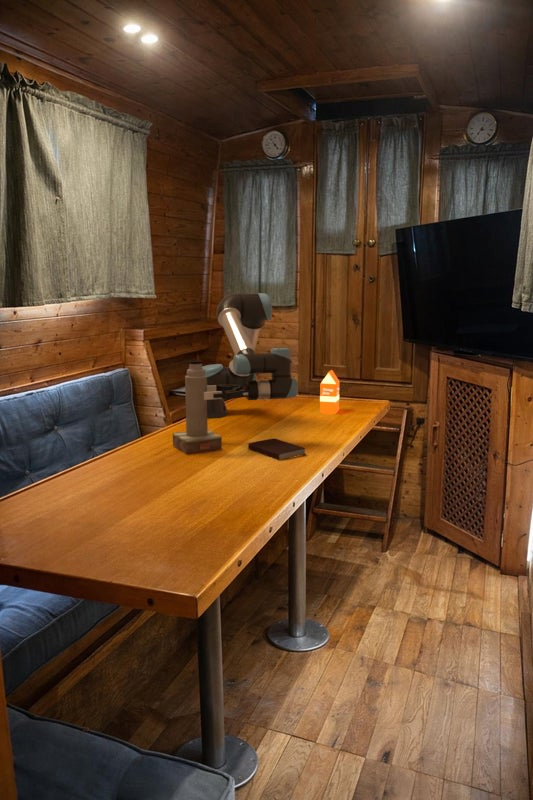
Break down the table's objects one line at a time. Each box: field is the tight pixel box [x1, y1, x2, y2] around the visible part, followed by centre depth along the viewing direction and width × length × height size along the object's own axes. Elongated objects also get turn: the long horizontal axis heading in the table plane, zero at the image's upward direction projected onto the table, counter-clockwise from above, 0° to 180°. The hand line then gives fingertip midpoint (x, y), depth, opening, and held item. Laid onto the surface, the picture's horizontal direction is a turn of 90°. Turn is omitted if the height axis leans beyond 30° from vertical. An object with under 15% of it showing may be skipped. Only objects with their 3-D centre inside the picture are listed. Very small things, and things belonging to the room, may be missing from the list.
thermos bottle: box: [184, 360, 209, 437], centre depth 243 cm, size 8×8×28 cm
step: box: [172, 429, 223, 455], centre depth 246 cm, size 15×14×5 cm
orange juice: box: [319, 369, 340, 415], centre depth 309 cm, size 8×9×20 cm
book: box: [247, 438, 306, 461], centre depth 240 cm, size 12×19×3 cm, turn 35°
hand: (201, 392), depth 243 cm, fingers open, 13 cm apart
